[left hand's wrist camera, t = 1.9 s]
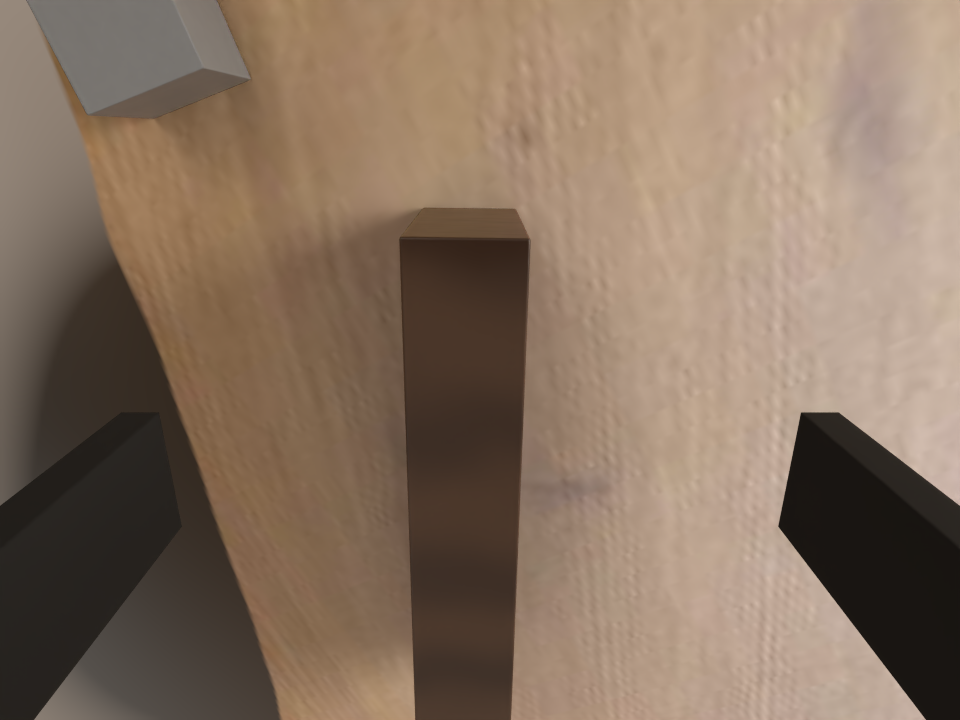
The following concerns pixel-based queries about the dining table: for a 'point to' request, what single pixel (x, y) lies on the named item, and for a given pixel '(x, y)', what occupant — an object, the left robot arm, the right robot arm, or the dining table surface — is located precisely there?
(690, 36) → the dining table surface
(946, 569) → the left robot arm
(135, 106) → the grey block
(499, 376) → the plank
